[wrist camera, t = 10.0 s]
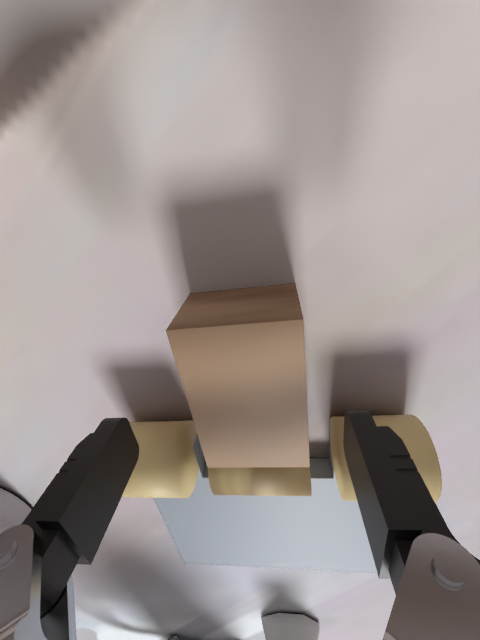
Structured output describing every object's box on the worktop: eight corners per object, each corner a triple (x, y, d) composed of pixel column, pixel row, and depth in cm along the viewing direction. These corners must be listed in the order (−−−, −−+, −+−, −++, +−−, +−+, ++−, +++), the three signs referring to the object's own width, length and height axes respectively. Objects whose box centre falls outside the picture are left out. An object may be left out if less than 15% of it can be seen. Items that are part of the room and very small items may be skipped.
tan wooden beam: (304, 445, 20) (312, 513, 16) (227, 447, 20) (217, 511, 17) (295, 282, 14) (304, 324, 10) (190, 293, 15) (162, 335, 11)
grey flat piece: (380, 552, 25) (400, 622, 21) (188, 544, 28) (174, 605, 24) (407, 398, 17) (449, 467, 13) (128, 408, 19) (93, 467, 15)
